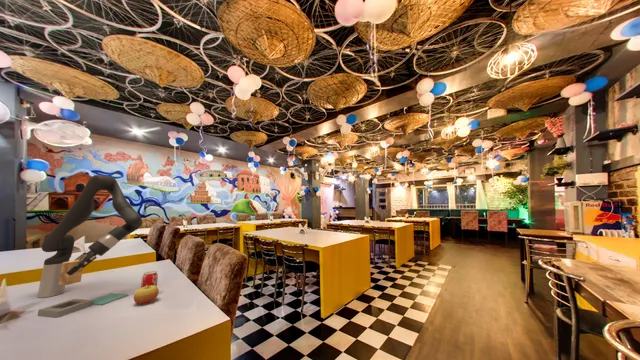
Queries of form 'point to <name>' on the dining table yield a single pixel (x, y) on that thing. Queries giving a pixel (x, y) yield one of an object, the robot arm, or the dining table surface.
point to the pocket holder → (64, 308)
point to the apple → (146, 294)
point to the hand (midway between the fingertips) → (66, 273)
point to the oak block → (70, 279)
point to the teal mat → (107, 298)
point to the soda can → (149, 279)
